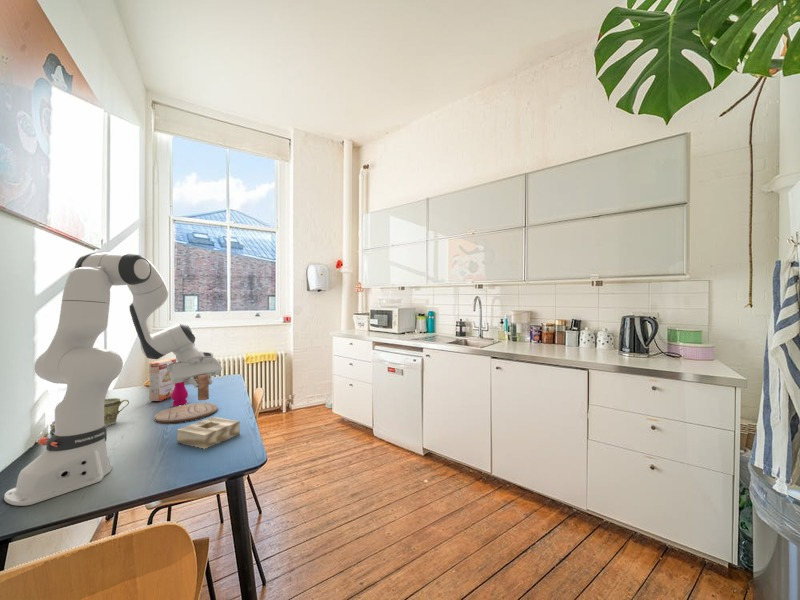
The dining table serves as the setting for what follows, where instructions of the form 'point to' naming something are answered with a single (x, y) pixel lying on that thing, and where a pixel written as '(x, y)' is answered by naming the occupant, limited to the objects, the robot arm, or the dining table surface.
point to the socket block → (208, 432)
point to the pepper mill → (179, 394)
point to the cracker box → (160, 380)
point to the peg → (203, 387)
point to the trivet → (186, 412)
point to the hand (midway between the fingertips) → (204, 385)
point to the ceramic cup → (112, 410)
